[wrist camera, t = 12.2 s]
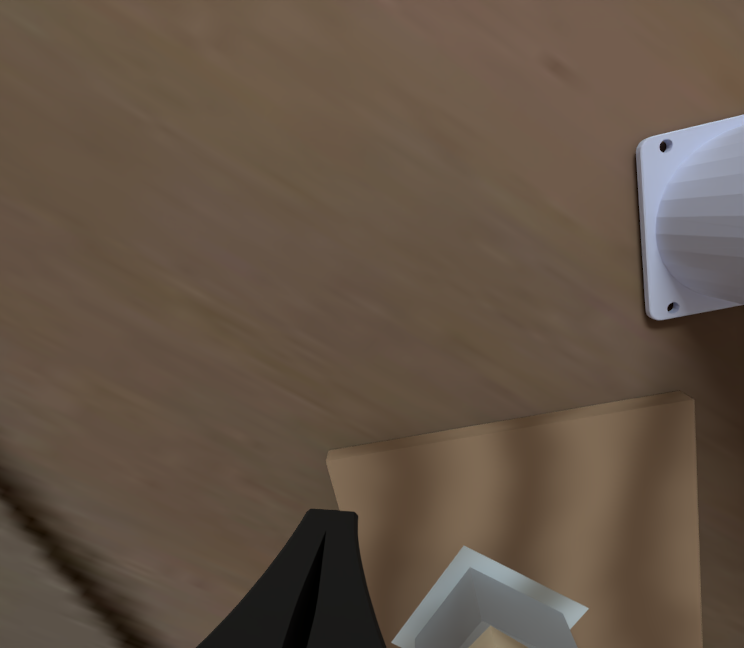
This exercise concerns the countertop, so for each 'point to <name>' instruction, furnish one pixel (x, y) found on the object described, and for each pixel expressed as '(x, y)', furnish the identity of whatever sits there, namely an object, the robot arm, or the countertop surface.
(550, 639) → the grey base block
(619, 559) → the board
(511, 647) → the maple cube
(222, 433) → the countertop surface
